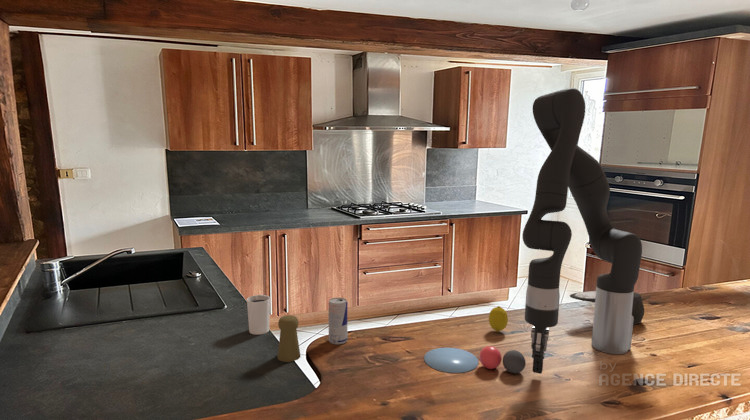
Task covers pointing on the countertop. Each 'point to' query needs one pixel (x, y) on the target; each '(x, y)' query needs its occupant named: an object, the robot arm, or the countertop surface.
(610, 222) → the robot arm
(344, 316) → the energy drink
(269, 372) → the countertop surface
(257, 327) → the white cup
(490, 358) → the red ball
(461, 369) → the blue mark
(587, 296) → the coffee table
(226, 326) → the countertop surface
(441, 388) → the countertop surface
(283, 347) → the cork
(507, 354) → the gray ball
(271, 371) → the countertop surface
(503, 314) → the lemon
